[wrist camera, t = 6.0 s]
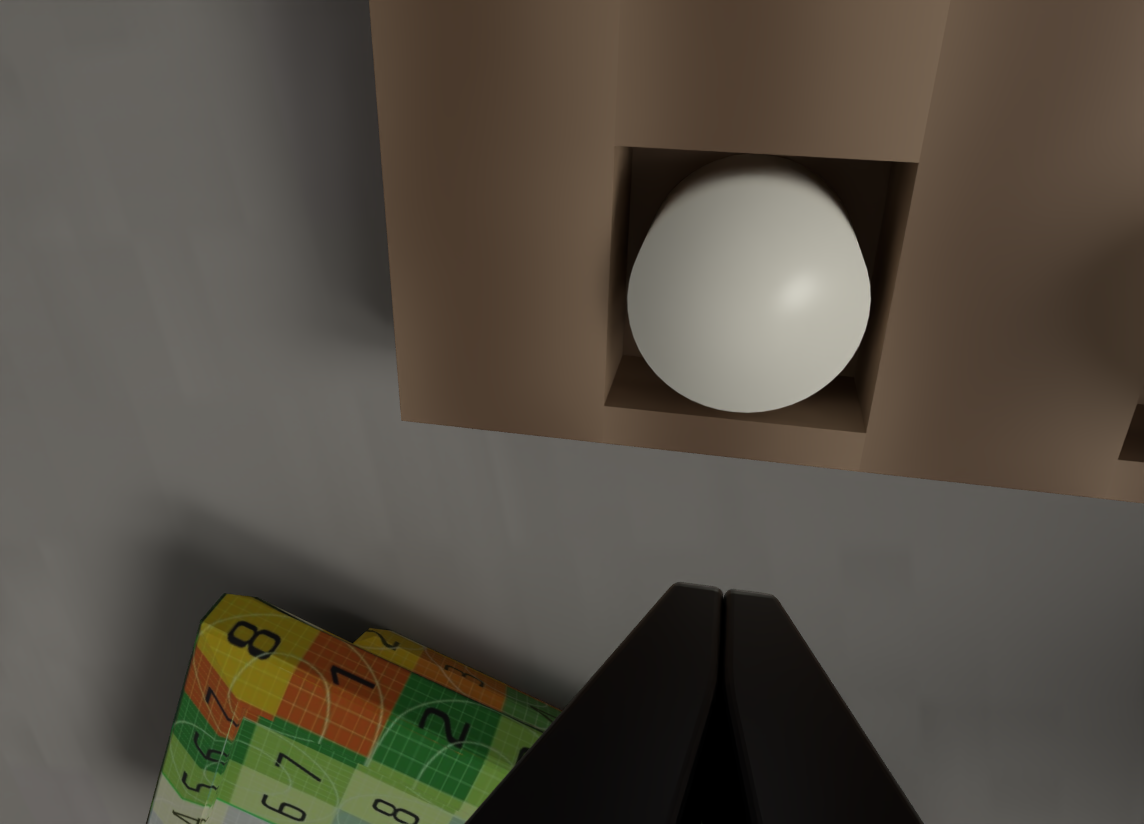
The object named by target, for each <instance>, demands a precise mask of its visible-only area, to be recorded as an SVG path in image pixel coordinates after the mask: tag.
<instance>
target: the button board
mask: <svg viewBox="0 0 1144 824" xmlns="http://www.w3.org/2000/svg"><path fill="white" fill-rule="evenodd" d="M369 8H370V21H371V34H372V47H373V60H374V73H375V86H376V99H377V112H378V125H379V138H380V151H381V163H382V176H383V189H384V202H385V215H386V228H387V241H388V254H389V267H390V280H391V293H392V306H393V319H394V332H395V345H396V358H397V370H398V383H399V396H400V409H401V421H410V422H419V423H428V424H437V425H446V426H455V427H463V428H472V429H481V430H490V431H499V432H508V433H517V434H526V435H535V436H544V437H553V438H562V439H571V440H580V441H589V442H598V443H607V444H616V445H625V446H634V447H643V448H652V449H661V450H670V451H679V452H688V453H697V454H706V455H715V456H724V457H733V458H742V459H751V460H760V461H768V462H777V463H786V464H795V465H804V466H813V467H822V468H831V469H840V470H849V471H858V472H867V473H876V474H885V475H894V476H903V477H912V478H921V479H930V480H939V481H948V482H957V483H966V484H975V485H984V486H993V487H1002V488H1011V489H1020V490H1029V491H1038V492H1047V493H1056V494H1065V495H1073V496H1082V497H1091V498H1100V499H1109V500H1118V501H1127V502H1136V503H1144V0H369ZM743 154H765V155H773V156H778V157H781V158H785V159H789V160H791V161H794V162H796V163H798V164H801V165H803V166H804V167H806V168H808V169H810V170H811V171H813V172H814V173H816V174H817V175H818V176H819V177H821V178H822V179H823V180H825V181H826V183H827V184H828V185H829V186H830V187H831V188H832V189H833V190H834V191H835V193H836V194H837V195H838V197H839V198H840V200H841V201H842V203H843V205H844V207H845V209H846V210H847V212H848V215H849V217H850V220H851V223H852V226H853V229H854V232H855V235H856V238H857V241H858V244H859V247H860V250H861V253H862V256H863V259H864V262H865V265H866V268H867V271H868V277H869V282H870V296H871V302H870V311H869V318H868V322H867V326H866V330H865V333H864V335H863V337H862V340H861V342H860V345H859V346H858V348H857V350H856V352H855V353H854V355H853V357H852V358H851V360H850V361H849V362H848V364H847V365H846V366H845V368H844V369H843V370H842V371H841V372H840V373H839V374H838V375H837V376H836V377H835V378H834V379H833V380H832V381H831V382H830V383H828V384H827V385H826V386H825V387H823V388H822V389H821V390H819V391H818V392H816V393H814V394H813V395H811V396H809V397H808V398H806V399H803V400H801V401H799V402H797V403H794V404H792V405H789V406H786V407H782V408H779V409H774V410H769V411H764V412H750V413H745V412H730V411H724V410H718V409H715V408H711V407H708V406H704V405H702V404H699V403H697V402H695V401H692V400H690V399H688V398H687V397H685V396H683V395H681V394H680V393H678V392H677V391H675V390H674V389H672V388H671V387H670V386H668V385H667V384H666V383H665V382H664V381H663V380H662V379H661V378H660V377H659V376H657V375H656V373H655V372H654V371H653V370H652V369H651V367H650V366H649V365H648V364H647V362H646V360H645V359H644V357H643V356H642V354H641V352H640V351H639V348H638V346H637V344H636V342H635V340H634V337H633V333H632V330H631V327H630V322H629V316H628V302H627V295H628V287H629V280H630V276H631V272H632V269H633V266H634V263H635V261H636V258H637V256H638V253H639V251H640V249H641V247H642V244H643V242H644V240H645V238H646V235H647V233H648V231H649V229H650V226H651V224H652V222H653V220H654V217H655V215H656V213H657V211H658V209H659V208H660V206H661V204H662V203H663V201H664V200H665V198H666V197H667V196H668V195H669V193H670V192H671V191H672V190H673V189H674V188H675V187H676V186H677V185H678V184H679V183H680V182H681V181H682V180H683V179H685V178H686V177H687V176H688V175H690V174H691V173H692V172H694V171H696V170H698V169H699V168H701V167H703V166H704V165H707V164H709V163H712V162H714V161H716V160H719V159H723V158H726V157H730V156H736V155H743Z"/></svg>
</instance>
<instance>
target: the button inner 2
mask: <svg viewBox="0 0 1144 824" xmlns="http://www.w3.org/2000/svg"><path fill="white" fill-rule="evenodd" d="M627 302H628V316H629V322H630V327H631V330H632V333H633V337H634V340H635V342H636V344H637V346H638V348H639V351H640V352H641V354H642V356H643V357H644V359H645V360H646V362H647V364H648V365H649V366H650V367H651V369H652V370H653V371H654V372H655V373H656V375H657V376H659V377H660V378H661V379H662V380H663V381H664V382H665V383H666V384H667V385H668V386H670V387H671V388H672V389H674V390H675V391H677V392H678V393H680V394H681V395H683V396H685V397H687V398H688V399H690V400H692V401H695V402H697V403H699V404H702V405H704V406H708V407H711V408H715V409H718V410H724V411H730V412H745V413H750V412H764V411H769V410H774V409H779V408H782V407H786V406H789V405H792V404H794V403H797V402H799V401H801V400H803V399H806V398H808V397H809V396H811V395H813V394H814V393H816V392H818V391H819V390H821V389H822V388H823V387H825V386H826V385H827V384H828V383H830V382H831V381H832V380H833V379H834V378H835V377H836V376H837V375H838V374H839V373H840V372H841V371H842V370H843V369H844V368H845V366H846V365H847V364H848V362H849V361H850V360H851V358H852V357H853V355H854V353H855V352H856V350H857V348H858V346H859V345H860V342H861V340H862V337H863V335H864V333H865V330H866V326H867V322H868V318H869V311H870V302H871V296H870V282H869V277H868V271H867V268H866V265H865V262H864V259H863V256H862V253H861V250H860V247H859V244H858V241H857V238H856V235H855V232H854V229H853V226H852V223H851V220H850V217H849V215H848V212H847V210H846V209H845V207H844V205H843V203H842V201H841V200H840V198H839V197H838V195H837V194H836V193H835V191H834V190H833V189H832V188H831V187H830V186H829V185H828V184H827V183H826V181H825V180H823V179H822V178H821V177H819V176H818V175H817V174H816V173H814V172H813V171H811V170H810V169H808V168H806V167H804V166H803V165H801V164H798V163H796V162H794V161H791V160H789V159H785V158H781V157H778V156H773V155H765V154H743V155H736V156H730V157H726V158H723V159H719V160H716V161H714V162H712V163H709V164H707V165H704V166H703V167H701V168H699V169H698V170H696V171H694V172H692V173H691V174H690V175H688V176H687V177H686V178H685V179H683V180H682V181H681V182H680V183H679V184H678V185H677V186H676V187H675V188H674V189H673V190H672V191H671V192H670V193H669V195H668V196H667V197H666V198H665V200H664V201H663V203H662V204H661V206H660V208H659V209H658V211H657V213H656V215H655V217H654V220H653V222H652V224H651V226H650V229H649V231H648V233H647V235H646V238H645V240H644V242H643V244H642V247H641V249H640V251H639V253H638V256H637V258H636V261H635V263H634V266H633V269H632V272H631V276H630V280H629V287H628V295H627Z"/></svg>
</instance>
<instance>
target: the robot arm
mask: <svg viewBox="0 0 1144 824" xmlns="http://www.w3.org/2000/svg"><path fill="white" fill-rule="evenodd" d="M464 824H924V823H923V822H922V820H921V818H920V817H919V815H918V814H917V812H916V811H915V809H914V808H913V806H912V805H911V803H910V802H909V800H908V799H907V797H906V795H905V794H904V792H903V791H902V789H901V788H900V786H899V785H898V783H897V782H896V780H895V779H894V777H893V775H892V774H891V772H890V771H889V769H888V768H887V766H886V765H885V763H884V762H883V760H882V759H881V757H880V756H879V754H878V752H877V751H876V749H875V748H874V746H873V745H872V743H871V742H870V740H869V739H868V737H867V736H866V734H865V733H864V731H863V729H862V728H861V726H860V725H859V723H858V722H857V720H856V719H855V717H854V716H853V714H852V713H851V711H850V709H849V708H848V706H847V705H846V703H845V702H844V700H843V699H842V697H841V696H840V694H839V693H838V691H837V690H836V688H835V686H834V685H833V683H832V682H831V680H830V679H829V677H828V676H827V674H826V673H825V671H824V670H823V668H822V666H821V665H820V663H819V662H818V660H817V659H816V657H815V656H814V654H813V653H812V651H811V650H810V648H809V647H808V645H807V643H806V642H805V640H804V639H803V637H802V636H801V634H800V633H799V631H798V630H797V628H796V627H795V625H794V624H793V622H792V620H791V619H790V617H789V616H788V614H787V613H786V611H785V610H784V608H783V607H782V605H781V604H780V602H779V601H778V599H777V598H776V597H774V596H773V595H771V594H767V593H759V592H751V591H744V590H736V589H730V590H728V591H727V592H726V593H725V595H724V599H723V593H722V591H721V590H720V589H719V588H717V587H714V586H706V585H699V584H691V583H684V582H677V583H675V584H673V585H672V586H671V587H670V588H669V589H668V590H667V591H666V592H665V594H664V595H663V596H662V597H661V598H660V599H659V600H658V602H657V603H656V604H655V605H654V606H653V607H652V608H651V610H650V611H649V612H648V613H647V614H646V615H645V617H644V618H643V619H642V620H641V621H640V622H639V623H638V625H637V626H636V627H635V628H634V629H633V630H632V631H631V633H630V634H629V635H628V636H627V637H626V638H625V640H624V641H623V642H622V643H621V644H620V645H619V646H618V648H617V649H616V650H615V651H614V652H613V653H612V654H611V656H610V657H609V658H608V659H607V660H606V661H605V662H604V664H603V665H602V666H601V667H600V668H599V669H598V671H597V672H596V673H595V674H594V675H593V676H592V677H591V679H590V680H589V681H588V682H587V683H586V684H585V685H584V687H583V688H582V689H581V690H580V691H579V692H578V694H577V695H576V696H575V697H574V698H573V699H572V700H571V702H570V703H569V704H568V705H567V706H566V707H565V708H564V710H563V711H562V712H561V713H560V714H559V715H558V716H557V718H556V719H555V720H554V721H553V722H552V723H551V725H550V726H549V727H548V728H547V729H546V730H545V731H544V733H543V734H542V735H541V736H540V737H539V738H538V739H537V741H536V742H535V743H534V744H533V745H532V746H531V748H530V749H529V750H528V751H527V752H526V753H525V754H524V756H523V757H522V758H521V759H520V760H519V761H518V762H517V764H516V765H515V766H514V767H513V768H512V769H511V770H510V772H509V773H508V774H507V775H506V776H505V777H504V779H503V780H502V781H501V782H500V783H499V784H498V785H497V787H496V788H495V789H494V790H493V791H492V792H491V793H490V795H489V796H488V797H487V798H486V799H485V800H484V801H483V803H482V804H481V805H480V806H479V807H478V808H477V810H476V811H475V812H474V813H473V814H472V815H471V816H470V818H469V819H468V820H467V821H466V822H465V823H464Z"/></svg>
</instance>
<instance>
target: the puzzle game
mask: <svg viewBox="0 0 1144 824" xmlns="http://www.w3.org/2000/svg"><path fill="white" fill-rule="evenodd" d="M561 712H562V710H560V709H558V708H556V707H553V706H551V705H549V704H547V703H545V702H543V701H541V700H539V699H536V698H534V697H532V696H530V695H528V694H526V693H524V692H521V691H519V690H517V689H515V688H513V687H511V686H509V685H507V684H504V683H502V682H500V681H498V680H496V679H494V678H492V677H489V676H487V675H485V674H483V673H481V672H479V671H477V670H475V669H472V668H470V667H468V666H466V665H464V664H462V663H460V662H457V661H455V660H453V659H451V658H449V657H447V656H445V655H443V654H440V653H438V652H436V651H434V650H432V649H430V648H428V647H425V646H423V645H421V644H419V643H417V642H415V641H413V640H411V639H408V638H406V637H404V636H402V635H400V634H398V633H396V632H393V631H390V630H381V629H373V628H369V629H368V630H367V631H366V632H365V633H364V634H362V635H361V636H360V637H359V638H358V639H357V640H356V641H355V642H354V643H350V642H348V641H346V640H344V639H342V638H340V637H338V636H336V635H334V634H332V633H330V632H328V631H326V630H324V629H322V628H320V627H318V626H315V625H313V624H311V623H309V622H307V621H305V620H303V619H301V618H299V617H297V616H295V615H293V614H291V613H289V612H287V611H285V610H283V609H281V608H278V607H276V606H274V605H272V604H270V603H268V602H266V601H264V600H262V599H260V598H258V597H251V596H242V595H234V594H226V593H224V594H223V595H222V596H221V597H220V599H219V600H218V601H217V602H216V603H215V604H214V606H213V607H212V608H211V609H210V610H209V611H208V612H207V614H206V615H205V616H204V617H203V618H202V619H201V621H200V625H199V628H198V632H197V636H196V640H195V643H194V647H193V651H192V655H191V658H190V662H189V666H188V669H187V673H186V677H185V681H184V684H183V688H182V692H181V695H180V699H179V703H178V707H177V710H176V714H175V718H174V721H173V725H172V729H171V733H170V736H169V740H168V744H167V747H166V751H165V755H164V759H163V762H162V766H161V770H160V773H159V777H158V781H157V785H156V788H155V792H154V796H153V799H152V803H151V807H150V811H149V814H148V818H147V822H146V824H464V823H465V822H466V821H467V820H468V819H469V818H470V816H471V815H472V814H473V813H474V812H475V811H476V810H477V808H478V807H479V806H480V805H481V804H482V803H483V801H484V800H485V799H486V798H487V797H488V796H489V795H490V793H491V792H492V791H493V790H494V789H495V788H496V787H497V785H498V784H499V783H500V782H501V781H502V780H503V779H504V777H505V776H506V775H507V774H508V773H509V772H510V770H511V769H512V768H513V767H514V766H515V765H516V764H517V762H518V761H519V760H520V759H521V758H522V757H523V756H524V754H525V753H526V752H527V751H528V750H529V749H530V748H531V746H532V745H533V744H534V743H535V742H536V741H537V739H538V738H539V737H540V736H541V735H542V734H543V733H544V731H545V730H546V729H547V728H548V727H549V726H550V725H551V723H552V722H553V721H554V720H555V719H556V718H557V716H558V715H559V714H560V713H561Z"/></svg>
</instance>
